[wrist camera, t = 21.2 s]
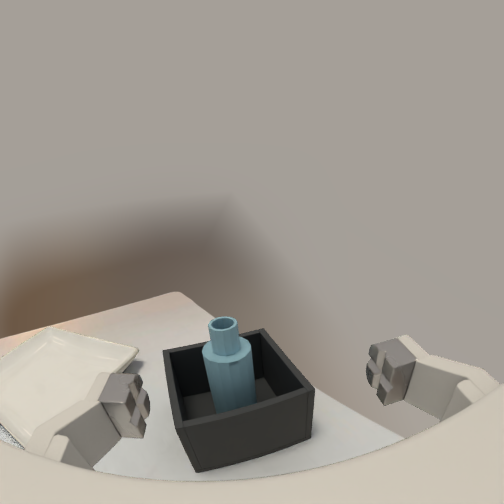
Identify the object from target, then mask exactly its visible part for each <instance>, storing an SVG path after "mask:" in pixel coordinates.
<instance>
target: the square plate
mask: <svg viewBox="0 0 504 504" xmlns="http://www.w3.org/2000/svg"><path fill="white" fill-rule="evenodd" d="M138 352H139V349H138V348H136V347H132V346H127V345H122V344H118V343H114V342H109V341H105V340H101V339H97V338H93V337H89V336H85V335H82V334H78V333H74V332H70V331H66V330H62V329H58V328H54V327H47V328H45V329H43V330H42V331H40V332H39V333H37V334H36V335H34V336H32V337H31V338H29V339H28V340H26V341H24V342H23V343H21V344H20V345H18V346H17V347H16V348H14V349H13V350H11V351H10V352H8V353H7V354H6V355H4V356H3V357H1V358H0V423H1V424H2V425H3V427H4V428H5V429H6V430H7V431H8V432H9V433H10V434H11V435H12V436H13V437H14V438H15V439H16V440H17V441H18V442H19V443H20V444H21V445H22V446H23V447H24V448H25V447H26V445H27V443H28V441H29V439H30V438H31V436H32V434H33V432H34V430H35V429H36V427H38V426H39V425H41V424H43V423H44V422H46V421H48V420H49V419H51V418H53V417H54V416H56V415H57V414H59V413H61V412H62V411H64V410H66V409H67V408H69V407H70V406H72V405H74V404H75V403H77V402H78V401H80V400H85V398H86V396H87V394H88V392H89V390H90V388H91V386H92V385H93V383H94V381H95V379H96V377H97V375H98V374H99V373H101V372H106V373H122V372H123V371H124V370H125V369H126V368H127V367H128V366H129V364H130V363H131V362H132V361H133V359H134V358H135V357H136V355H137V353H138Z"/></svg>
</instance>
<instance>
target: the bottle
mask: <svg viewBox="0 0 504 504" xmlns="http://www.w3.org/2000/svg"><path fill="white" fill-rule="evenodd" d="M208 327H209V333H210V339H211V340H210V341H208V342H207V343H206V344H205V345H204V347H203V350H202V354H203V358H204V363H205V368H206V372H207V377H208V381H209V385H210V389H211V394H212V398H213V402H214V406H215V410H216V414H218V413H222V412H226V411H230V410H234V409H238V408H241V407H245V406H249V405H252V404H255V403H257V398H256V388H255V379H254V370H253V360H252V350H251V344H250V343H249V341H248V340H246V339H244V338H243V337H239V332H238V324H237V321H236V319H234V318H231V317H219V318H215V319H213V320H211V321H210V323H209V324H208Z"/></svg>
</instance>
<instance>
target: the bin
mask: <svg viewBox="0 0 504 504" xmlns="http://www.w3.org/2000/svg"><path fill="white" fill-rule="evenodd" d="M239 337H243V338H244V339H246V340H248V341H249V343H250V344H251V350H252V360H253V370H254V379H255V388H256V398H257V403H255V404H252V405H249V406H245V407H241V408H238V409H234V410H230V411H226V412H222V413H218V414H216V410H215V406H214V402H213V398H212V394H211V389H210V385H209V381H208V377H207V372H206V368H205V363H204V358H203V354H202V350H203V347H204V345H205V344H206V343H207V342H208V341H207V342H203V343H198V344H193V345H188V346H183V347H178V348H173V349H167V350H163V357H164V365H165V372H166V379H167V386H168V392H169V398H170V404H171V409H172V415H173V420H174V425H175V429H176V432H177V434H178V436H179V438H180V441H181V443H182V445H183V447H184V449H185V451H186V454H187V456H188V458H189V460H190V462H191V464H192V466H193V468H194V470H195V472H196V473H197V472H202V471H207V470H212V469H216V468H220V467H224V466H228V465H232V464H236V463H240V462H243V461H247V460H250V459H254V458H257V457H260V456H263V455H266V454H269V453H272V452H275V451H278V450H281V449H284V448H286V447H289V446H292V445H294V444H297V443H299V442H302V441H304V440H307V439H309V438H311V430H312V420H313V408H314V396H315V388H314V387H313V386H312V385H311V384H310V383H309V382H308V380H307V379H306V378H305V377H304V376H303V375H302V373H301V372H300V371H299V370H298V369H297V368H296V366H295V365H294V364H293V363H292V362H291V361H290V359H288V357H287V356H286V355H285V354H284V352H283V351H282V350H281V349H280V348H279V346H278V345H277V344H276V343H275V342H274V341H273V339H272V338H271V337H270V336H269V334H268V333H267V332H266V331H265V330H264V329H259V330H254V331H250V332H246V333H243V334H239Z"/></svg>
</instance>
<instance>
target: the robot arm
mask: <svg viewBox="0 0 504 504" xmlns="http://www.w3.org/2000/svg"><path fill="white" fill-rule="evenodd" d="M369 355H370V357H371V359H370V361H369V362H368V363H367V368H366V375H367V379H368V382H369V384H370V385H371V387H373V388H375V389H377V396H378V398H379V399H380V400H381V402H382V403H383V405H384V406H386V405H389V404H392V403H395V402H398V401H401V400H404V401H406V402H408V403H410V404H411V405H413V406H415V407H417V408H419V409H421V410H423V411H425V412H427V413H429V414H431V415H432V416H434V417H436V418H438V419H440V422H439V423H438V424H436V425H434V426H432V427H430V428H428V429H426V430H424V431H422V432H420V433H417V434H415V435H413V436H411V437H408V438H406V439H404V440H401V441H399V442H396V443H394V444H391V445H389V446H386V447H384V448H381V449H378V450H376V451H373V452H370V453H367V454H364V455H361V456H358V457H355V458H351V459H348V460H345V461H341V462H338V463H334V464H330V465H326V466H322V467H318V468H313V469H309V470H304V471H299V472H294V473H288V474H282V475H276V476H269V477H261V478H252V479H242V480H227V481H168V480H154V479H144V478H135V477H127V476H121V475H114V474H109V473H103V472H98V471H95V470H94V469H93V468H92V467H93V466H94V465H95V464H96V463H97V462H98V461H99V460H100V459H101V458H102V457H103V456H104V455H106V454H107V453H108V452H109V451H110V450H111V449H112V448H113V447H114V446H115V445H116V443H117V442H118V441H119V440H120V439H121V437H126V438H143V437H144V433H145V429H146V423H145V421H144V419H146V418H147V417H148V416H149V412H150V401H149V396H148V394H147V392H146V391H145V390H144V389H143V388H141V387H142V384H143V381H142V379H141V377H140V375H138V374H130V373H106V372H101V373H99V374H98V375H97V377H96V379H95V381H94V383H93V385H92V386H91V388H90V390H89V392H88V394H87V396H86V398H85V400H80V401H78V402H77V403H75V404H74V405H72V406H70V407H69V408H67V409H66V410H64V411H62V412H61V413H59V414H57V415H56V416H54V417H53V418H51V419H49V420H48V421H46V422H44V423H43V424H41V425H39V426H38V427H36V429H35V430H34V432H33V434H32V436H31V438H30V439H29V441H28V443H27V445H26V447H25V449H24V450H23V449H21V448H18V447H16V446H13V445H11V444H9V443H6V442H4V441H2V440H0V504H504V383H502V384H501V385H500V384H499V383H498V382H497V381H496V380H495V379H494V378H493V377H492V376H491V375H489V374H488V373H487V372H486V371H485V370H484V369H482V368H478V367H474V366H471V365H467V364H463V363H460V362H456V361H453V360H449V359H445V358H442V357H439V356H435V355H432V356H430V355H428V354H427V353H426V352H425V351H424V350H423V349H422V348H421V347H420V346H419V345H418V344H417V343H416V342H415V341H414V340H413V339H412V338H410V336H408V335H403V336H400V337H397V338H394V339H392V340H388V341H384V342H381V343H377V344H373V345H371V347H370V349H369Z"/></svg>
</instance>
